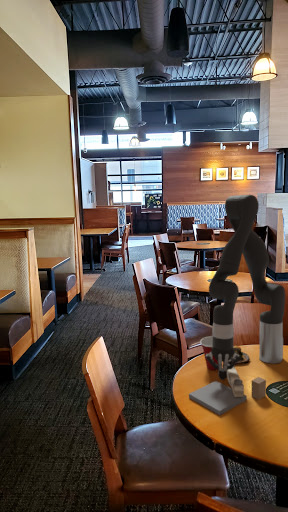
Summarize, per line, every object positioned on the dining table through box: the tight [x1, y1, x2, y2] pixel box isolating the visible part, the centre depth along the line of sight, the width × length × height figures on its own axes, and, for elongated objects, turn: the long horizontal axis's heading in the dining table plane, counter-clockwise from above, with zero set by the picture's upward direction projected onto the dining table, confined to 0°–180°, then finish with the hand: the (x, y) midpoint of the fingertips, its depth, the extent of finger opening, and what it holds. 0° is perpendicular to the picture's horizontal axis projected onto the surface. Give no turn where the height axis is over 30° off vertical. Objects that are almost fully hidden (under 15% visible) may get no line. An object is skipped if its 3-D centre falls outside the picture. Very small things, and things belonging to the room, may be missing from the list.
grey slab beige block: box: [188, 376, 267, 416], centre depth 126 cm, size 21×17×6 cm
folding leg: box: [226, 365, 245, 397], centre depth 130 cm, size 16×3×5 cm, turn 178°
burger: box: [228, 345, 250, 364], centre depth 155 cm, size 12×12×8 cm
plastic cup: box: [199, 335, 218, 371], centre depth 148 cm, size 11×11×12 cm
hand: (222, 379), depth 133 cm, fingers closed
